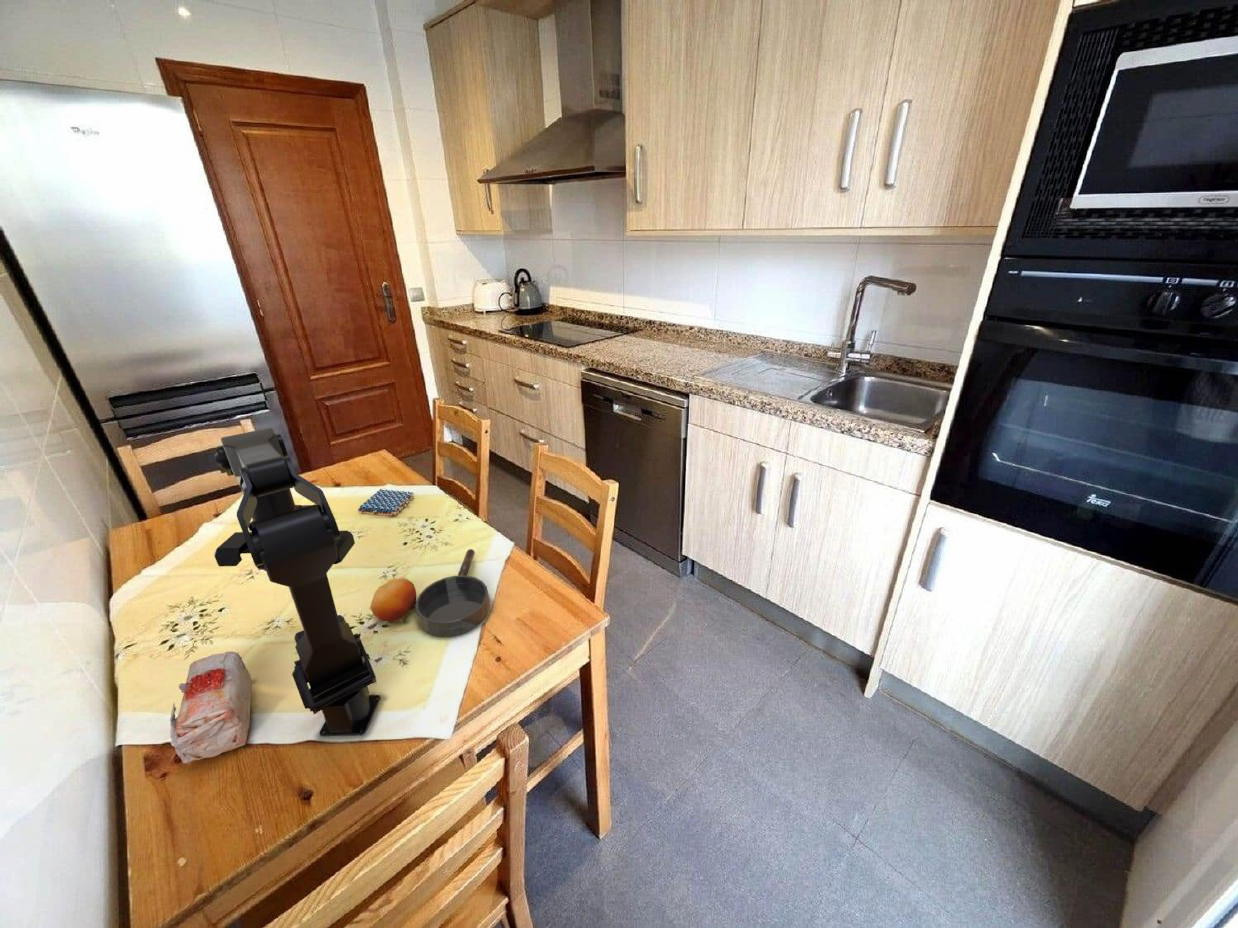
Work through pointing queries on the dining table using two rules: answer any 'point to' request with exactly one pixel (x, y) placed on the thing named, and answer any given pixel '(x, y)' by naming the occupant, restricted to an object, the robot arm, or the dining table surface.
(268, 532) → the robot arm
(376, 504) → the woven mat
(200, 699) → the food item
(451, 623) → the pan
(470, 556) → the pan handle
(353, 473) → the dining table surface
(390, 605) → the fruit
